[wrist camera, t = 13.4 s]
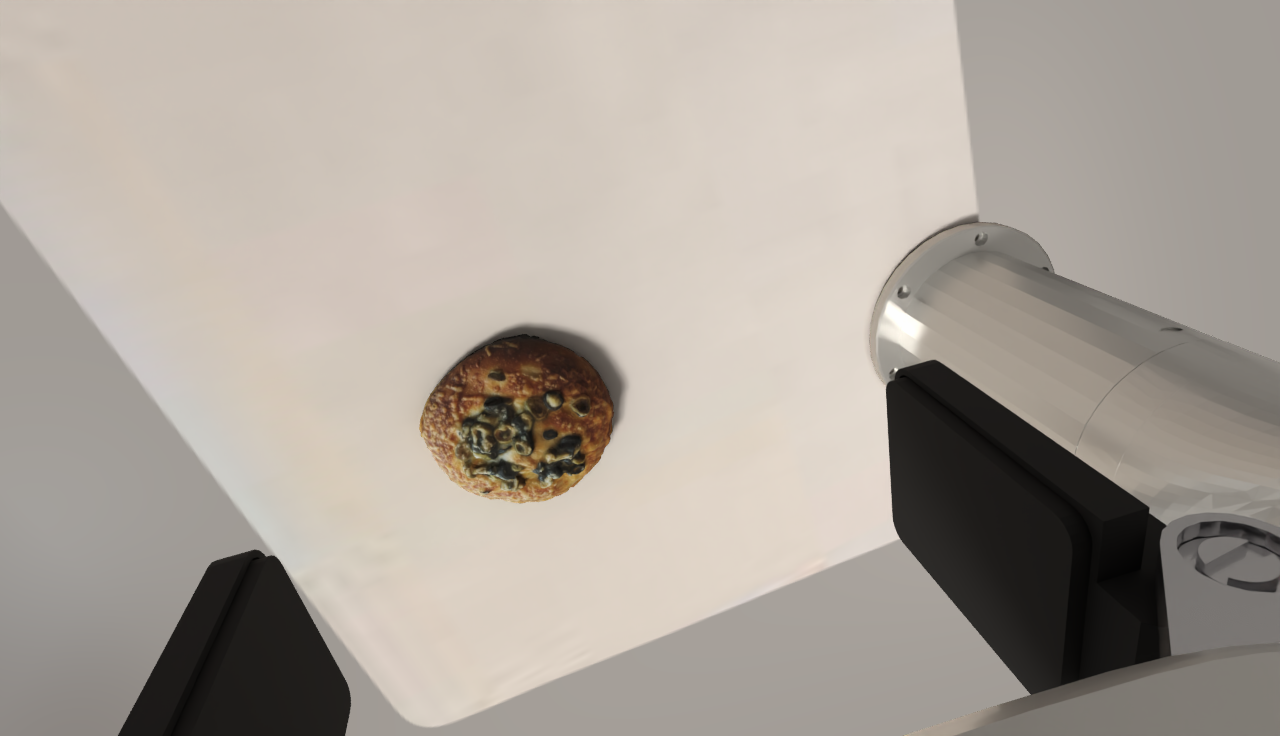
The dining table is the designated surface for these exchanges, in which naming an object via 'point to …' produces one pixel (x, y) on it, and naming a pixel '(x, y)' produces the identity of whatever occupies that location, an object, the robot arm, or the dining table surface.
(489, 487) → the bread roll
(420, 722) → the dining table surface
